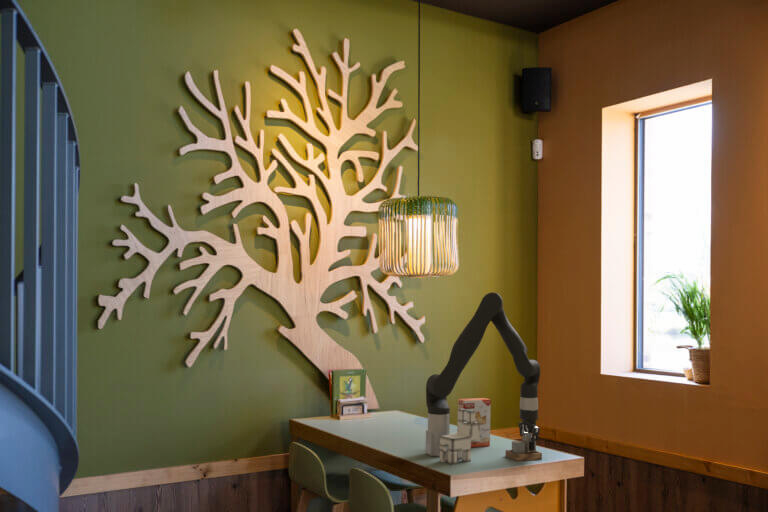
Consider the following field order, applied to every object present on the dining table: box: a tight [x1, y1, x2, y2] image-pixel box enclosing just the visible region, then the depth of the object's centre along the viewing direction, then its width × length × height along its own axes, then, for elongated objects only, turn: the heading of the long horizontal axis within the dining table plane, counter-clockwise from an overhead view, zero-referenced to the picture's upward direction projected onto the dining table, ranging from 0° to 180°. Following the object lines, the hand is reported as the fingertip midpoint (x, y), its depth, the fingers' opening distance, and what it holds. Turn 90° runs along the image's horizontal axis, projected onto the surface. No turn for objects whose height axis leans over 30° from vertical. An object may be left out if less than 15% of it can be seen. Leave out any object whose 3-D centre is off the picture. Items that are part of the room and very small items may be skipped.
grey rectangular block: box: [511, 440, 525, 454], centre depth 303 cm, size 4×4×6 cm
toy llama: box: [439, 408, 480, 466], centre depth 297 cm, size 8×18×20 cm, turn 128°
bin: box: [504, 449, 543, 462], centre depth 304 cm, size 12×9×2 cm
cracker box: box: [456, 397, 492, 448], centre depth 327 cm, size 14×6×21 cm, turn 112°
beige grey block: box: [521, 436, 537, 453], centre depth 305 cm, size 4×4×6 cm
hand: (528, 449), depth 305 cm, fingers closed on beige grey block, 4 cm apart
